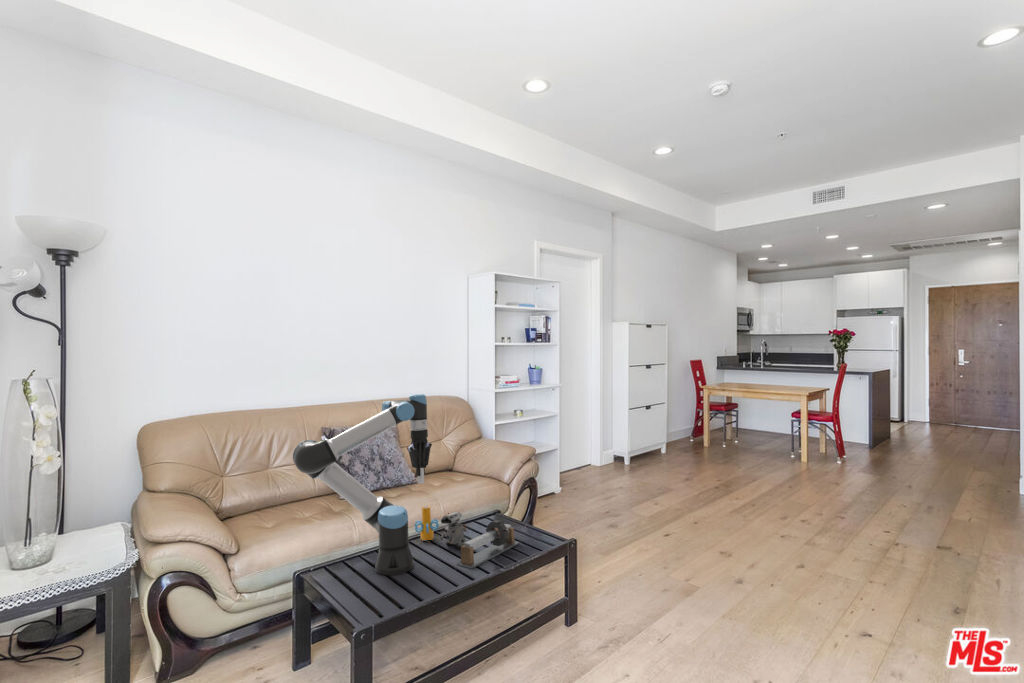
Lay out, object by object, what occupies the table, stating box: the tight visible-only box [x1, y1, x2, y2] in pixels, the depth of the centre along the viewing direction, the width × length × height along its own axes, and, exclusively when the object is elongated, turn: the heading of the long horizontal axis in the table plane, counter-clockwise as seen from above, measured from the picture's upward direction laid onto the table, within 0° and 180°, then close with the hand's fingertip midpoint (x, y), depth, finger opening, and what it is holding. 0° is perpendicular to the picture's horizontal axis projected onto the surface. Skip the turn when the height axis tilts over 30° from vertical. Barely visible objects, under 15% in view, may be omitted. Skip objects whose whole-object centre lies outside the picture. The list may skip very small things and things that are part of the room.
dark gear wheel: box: [485, 519, 508, 546], centre depth 224 cm, size 2×10×10 cm, turn 54°
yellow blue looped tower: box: [414, 505, 440, 540], centre depth 241 cm, size 12×10×15 cm
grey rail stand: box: [456, 523, 519, 569], centre depth 219 cm, size 32×8×9 cm, turn 144°
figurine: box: [440, 511, 467, 550], centre depth 228 cm, size 9×12×15 cm
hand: (420, 482), depth 228 cm, fingers closed
